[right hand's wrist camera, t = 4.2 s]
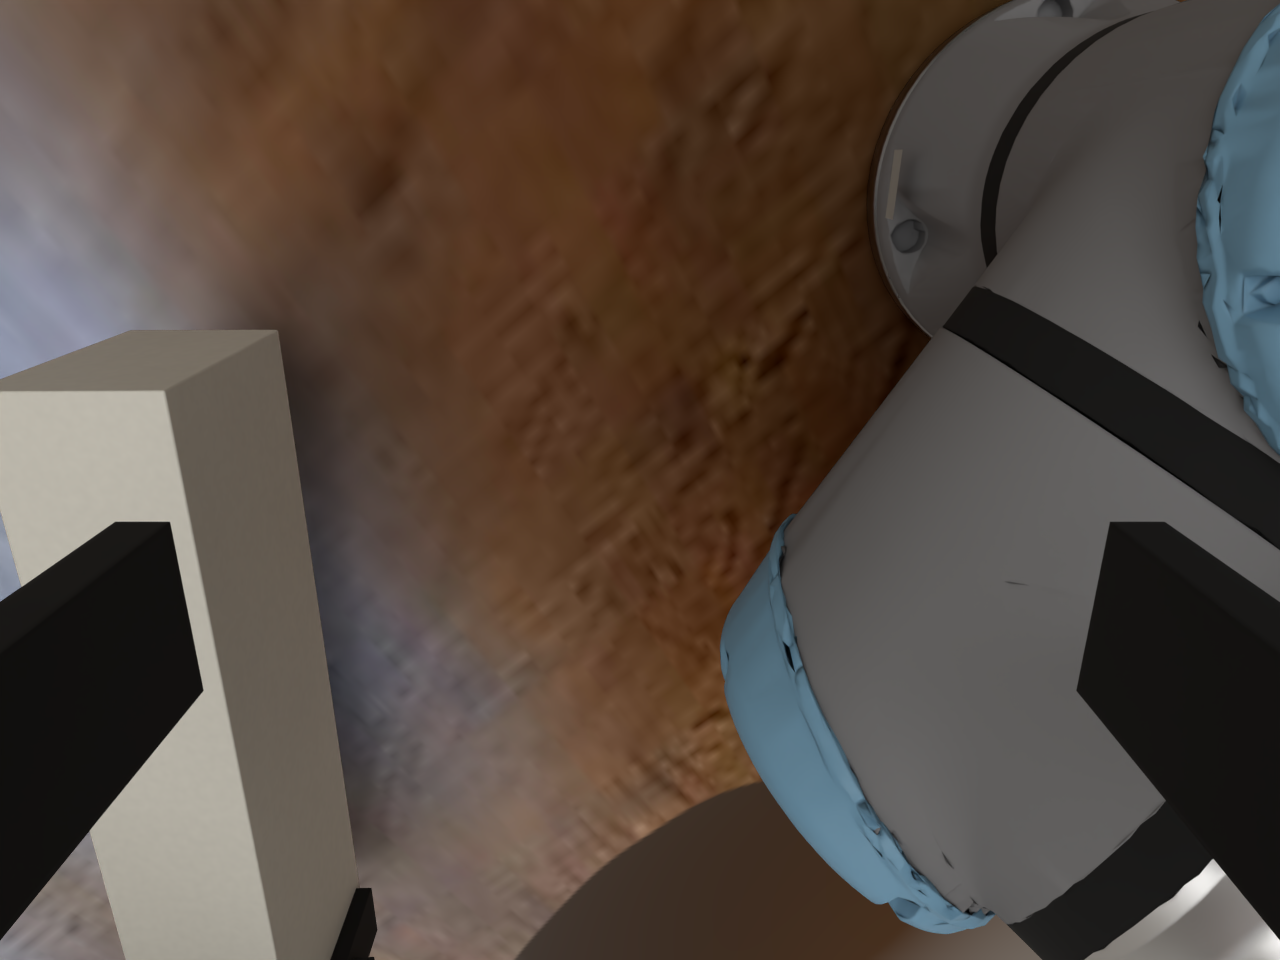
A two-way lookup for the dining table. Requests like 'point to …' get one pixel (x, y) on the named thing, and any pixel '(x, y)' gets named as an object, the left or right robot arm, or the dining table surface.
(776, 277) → the dining table surface
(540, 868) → the dining table surface
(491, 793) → the dining table surface
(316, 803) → the bar
